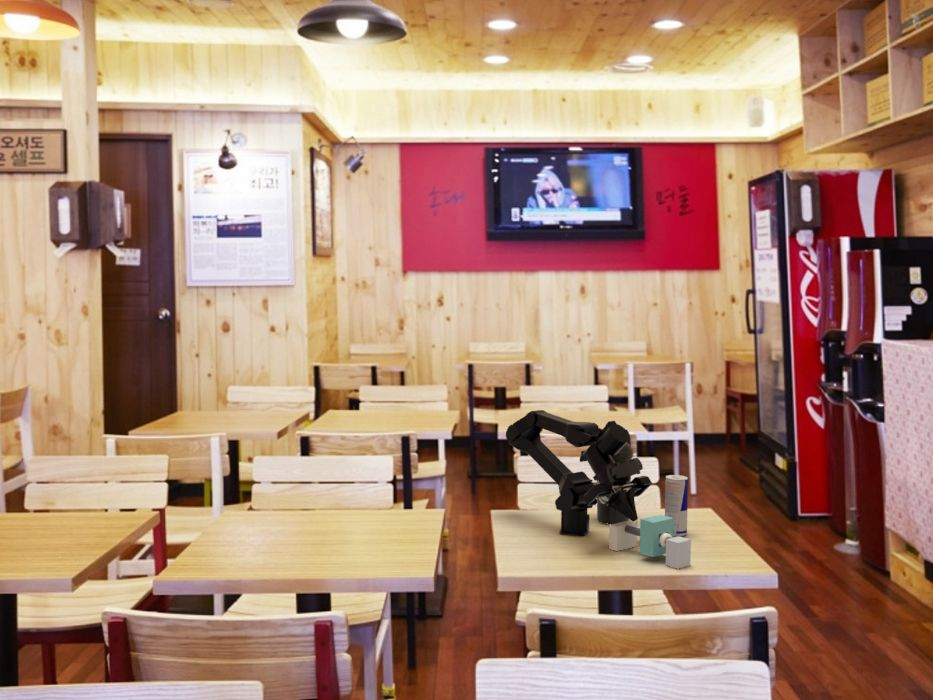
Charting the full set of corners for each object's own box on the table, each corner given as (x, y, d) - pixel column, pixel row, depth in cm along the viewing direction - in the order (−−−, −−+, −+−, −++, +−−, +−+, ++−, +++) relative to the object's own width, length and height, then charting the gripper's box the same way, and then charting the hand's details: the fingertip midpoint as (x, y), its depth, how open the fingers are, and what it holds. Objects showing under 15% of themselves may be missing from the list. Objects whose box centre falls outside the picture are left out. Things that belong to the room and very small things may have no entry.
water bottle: (587, 522, 242) (588, 437, 240) (604, 514, 250) (605, 432, 249) (622, 527, 236) (623, 441, 235) (638, 519, 245) (639, 436, 243)
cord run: (609, 549, 217) (609, 522, 216) (629, 544, 221) (629, 517, 221) (673, 570, 201) (674, 541, 200) (694, 564, 205) (694, 536, 205)
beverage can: (687, 537, 227) (688, 479, 226) (664, 536, 228) (665, 478, 227) (686, 532, 232) (687, 474, 231) (664, 530, 233) (665, 474, 232)
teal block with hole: (639, 552, 209) (640, 519, 208) (660, 547, 213) (660, 514, 213) (652, 557, 206) (653, 522, 205) (673, 551, 210) (673, 518, 209)
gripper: (593, 451, 212) (626, 507, 204) (647, 443, 223) (681, 496, 215) (569, 478, 219) (601, 533, 211) (623, 468, 230) (654, 521, 222)
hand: (635, 520), depth 214 cm, fingers closed
